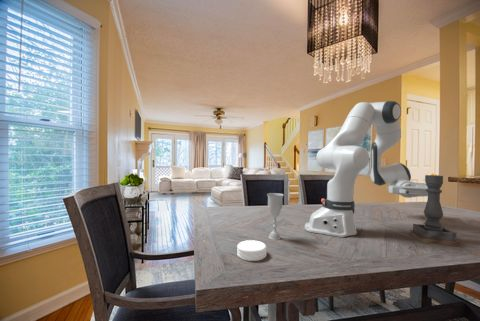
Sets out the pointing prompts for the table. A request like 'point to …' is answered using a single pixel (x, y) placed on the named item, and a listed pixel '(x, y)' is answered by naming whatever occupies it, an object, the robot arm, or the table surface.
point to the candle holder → (433, 203)
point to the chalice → (274, 211)
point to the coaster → (251, 250)
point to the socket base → (434, 236)
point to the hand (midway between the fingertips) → (419, 192)
